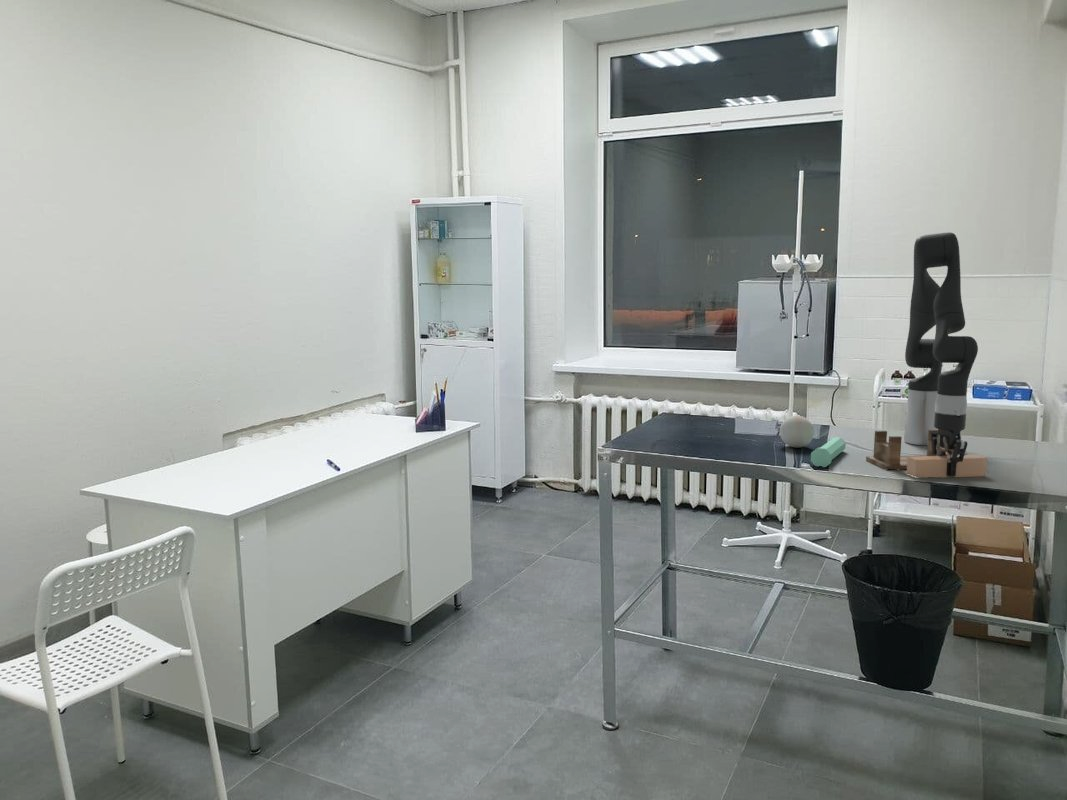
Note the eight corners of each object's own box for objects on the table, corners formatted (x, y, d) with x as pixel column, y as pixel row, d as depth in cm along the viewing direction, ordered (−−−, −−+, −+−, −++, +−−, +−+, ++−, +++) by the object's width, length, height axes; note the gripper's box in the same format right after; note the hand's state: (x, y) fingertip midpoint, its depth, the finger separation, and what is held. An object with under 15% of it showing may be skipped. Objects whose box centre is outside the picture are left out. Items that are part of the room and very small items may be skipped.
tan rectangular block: (906, 474, 226) (907, 456, 225) (975, 472, 228) (977, 454, 227) (914, 478, 222) (915, 459, 221) (985, 476, 224) (986, 457, 223)
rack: (866, 460, 243) (867, 430, 242) (938, 459, 244) (941, 428, 243) (886, 470, 231) (888, 438, 230) (962, 468, 233) (965, 436, 231)
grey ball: (815, 451, 256) (816, 419, 254) (780, 449, 258) (781, 418, 256) (811, 444, 266) (812, 413, 264) (777, 443, 268) (779, 412, 266)
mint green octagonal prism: (833, 431, 257) (815, 443, 236) (852, 439, 254) (835, 453, 233) (825, 447, 259) (806, 462, 238) (843, 456, 256) (826, 472, 235)
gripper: (922, 407, 229) (918, 468, 232) (952, 415, 215) (947, 480, 218) (948, 406, 230) (944, 468, 232) (980, 415, 216) (975, 480, 218)
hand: (946, 473), depth 225 cm, fingers closed on tan rectangular block, 4 cm apart
